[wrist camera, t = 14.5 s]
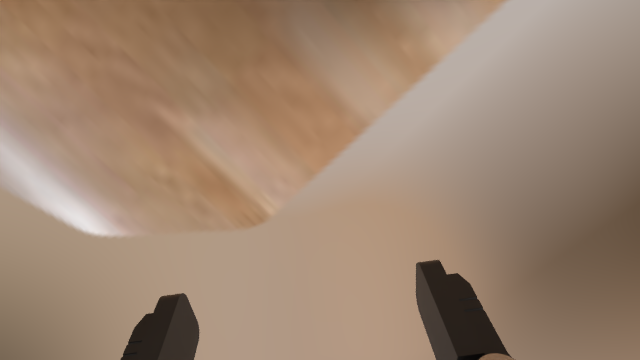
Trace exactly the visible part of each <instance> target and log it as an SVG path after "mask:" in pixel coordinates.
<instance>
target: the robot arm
mask: <svg viewBox="0 0 640 360" xmlns="http://www.w3.org/2000/svg"><path fill="white" fill-rule="evenodd" d="M416 298H417V305H418V309H419V312H420V315H421V318H422V321H423V324H424V326H425V329H426V332H427V335H428V337H429V340H430V343H431V346H432V349H433V352H434V355H435V357H436V360H515V359H514V358H512V357H511V356H510V355H509V354H508V352H507V351H506V349H505V347H504V345H503V344H502V342H501V340H500V338H499V336H498V334H497V333H496V331H495V329H494V327H493V325H492V323H491V322H490V320H489V318H488V316H487V314H486V312H485V311H484V310H483V307H482V305H481V303H480V301H479V300H478V299H477V296H476V294H475V292H474V291H473V289H472V287H471V285H470V283H468V282H467V281H466V280H465V279H464V278H463V277H461V276H460V275H459V274H458V273H456V274H448V275H447V274H446V272H445V270H444V268H443V266H442V264H441V262H440V261H439V260H433V261H426V262H418V263H417V264H416ZM198 341H199V325H198V322H197V319H196V317H195V315H194V312H193V310H192V308H191V305H190V303H189V300H188V298H187V296H186V295H185V294H184V293H182V294H175V295H167V296H162V297H160V299H159V301H158V303H157V305H156V308H155V310H154V313H151V314H146V315H145V316H144V317H143V318H142V320H141V321H140V322H139V323H138V324H137V326H136V327H135V328H134V330H133V332H132V335H131V337H130V339H129V342H128V345H127V346H126V349H125V351H124V353H123V357H122V358H121V360H194V357H195V353H196V348H197V345H198Z"/></svg>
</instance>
